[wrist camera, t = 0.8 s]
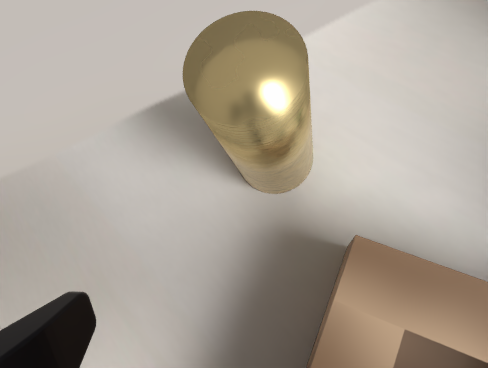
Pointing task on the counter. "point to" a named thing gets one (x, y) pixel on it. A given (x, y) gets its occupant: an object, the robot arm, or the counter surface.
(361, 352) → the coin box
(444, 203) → the counter surface
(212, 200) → the counter surface
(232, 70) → the brass cylinder
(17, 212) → the counter surface
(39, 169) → the counter surface
